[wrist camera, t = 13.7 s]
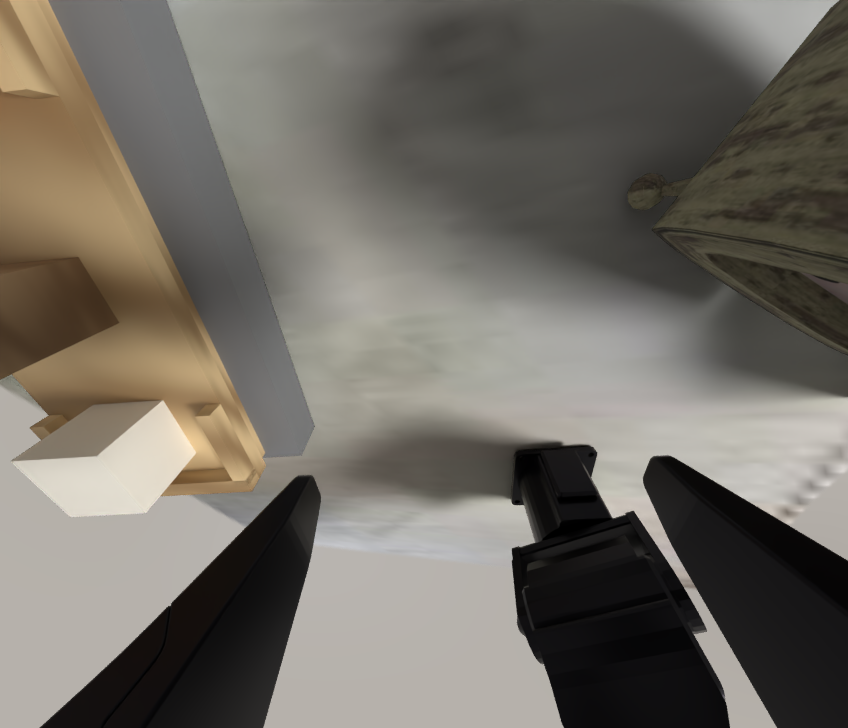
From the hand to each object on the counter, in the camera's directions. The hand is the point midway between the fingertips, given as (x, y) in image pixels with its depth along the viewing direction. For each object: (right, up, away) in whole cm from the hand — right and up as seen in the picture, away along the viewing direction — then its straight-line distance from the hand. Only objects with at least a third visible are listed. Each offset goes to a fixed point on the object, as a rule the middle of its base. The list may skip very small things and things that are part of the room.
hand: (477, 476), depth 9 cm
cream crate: (-17, -1, +10) cm, 20 cm away
